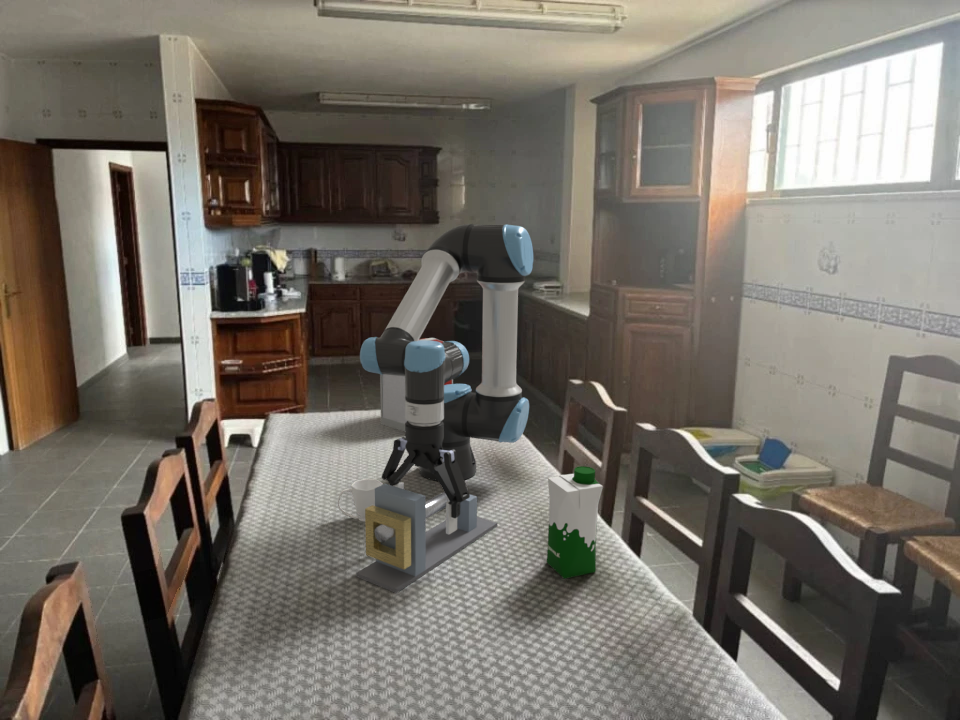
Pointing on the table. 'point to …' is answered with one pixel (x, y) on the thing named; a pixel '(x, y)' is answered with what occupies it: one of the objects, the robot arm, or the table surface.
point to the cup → (362, 496)
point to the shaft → (432, 507)
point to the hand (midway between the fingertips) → (424, 522)
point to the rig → (422, 537)
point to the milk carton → (573, 522)
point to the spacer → (403, 537)
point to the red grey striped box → (395, 398)
